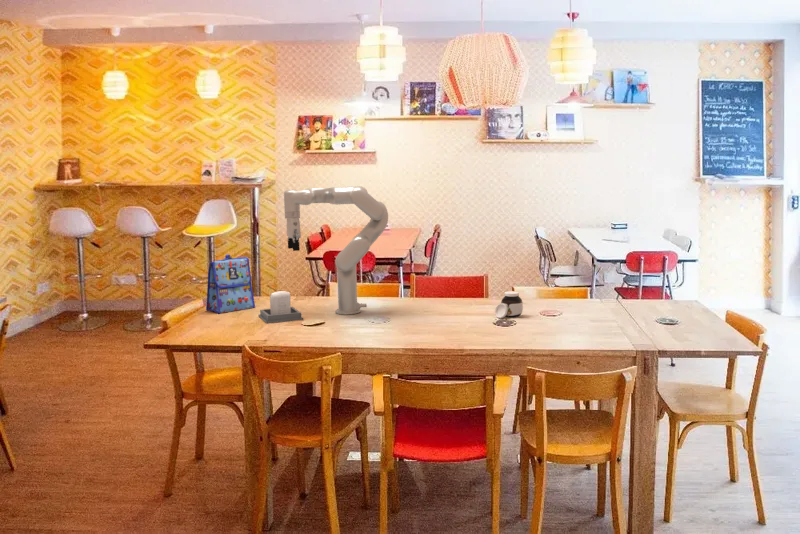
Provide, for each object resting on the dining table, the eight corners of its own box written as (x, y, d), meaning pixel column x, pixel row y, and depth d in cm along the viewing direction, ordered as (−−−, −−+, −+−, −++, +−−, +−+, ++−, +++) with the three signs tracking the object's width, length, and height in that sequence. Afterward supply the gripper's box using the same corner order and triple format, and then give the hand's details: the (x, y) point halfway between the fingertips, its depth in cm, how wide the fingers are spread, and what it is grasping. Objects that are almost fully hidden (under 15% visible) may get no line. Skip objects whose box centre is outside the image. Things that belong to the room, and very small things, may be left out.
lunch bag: (218, 314, 433) (215, 257, 428) (205, 310, 443) (202, 255, 438) (255, 308, 447) (253, 253, 442) (242, 304, 457) (239, 250, 452)
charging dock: (293, 313, 432) (293, 306, 431) (303, 319, 415) (303, 312, 414) (258, 316, 425) (258, 309, 424) (266, 323, 408) (266, 316, 408)
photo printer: (288, 314, 424) (287, 289, 422) (292, 315, 420) (291, 290, 419) (269, 316, 419) (268, 291, 417) (272, 318, 415) (271, 293, 413)
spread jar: (524, 315, 415) (524, 291, 413) (517, 320, 404) (517, 295, 403) (500, 313, 420) (500, 290, 418) (493, 318, 409) (492, 294, 408)
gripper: (304, 216, 417) (305, 251, 419) (295, 213, 433) (296, 247, 435) (289, 217, 414) (290, 252, 417) (280, 214, 430) (282, 248, 433)
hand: (293, 249), depth 426 cm, fingers open, 9 cm apart
